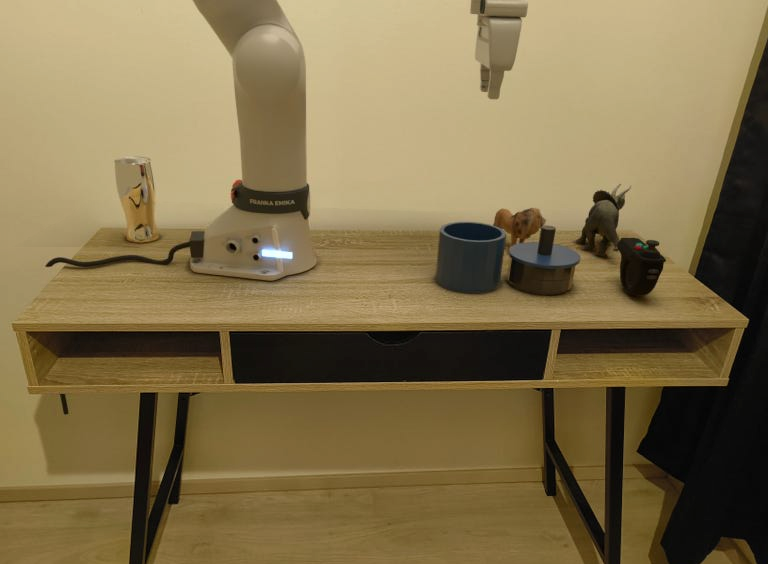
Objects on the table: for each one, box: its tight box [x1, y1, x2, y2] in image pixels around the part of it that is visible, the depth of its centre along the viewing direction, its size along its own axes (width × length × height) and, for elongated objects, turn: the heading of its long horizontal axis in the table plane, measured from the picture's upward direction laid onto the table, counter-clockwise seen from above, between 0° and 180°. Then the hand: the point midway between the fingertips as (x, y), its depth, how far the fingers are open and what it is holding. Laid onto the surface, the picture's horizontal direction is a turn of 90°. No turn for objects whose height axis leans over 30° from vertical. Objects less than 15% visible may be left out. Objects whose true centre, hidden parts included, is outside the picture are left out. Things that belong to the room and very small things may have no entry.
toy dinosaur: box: [575, 183, 632, 259], centre depth 133 cm, size 22×8×11 cm, turn 160°
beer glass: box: [113, 156, 160, 244], centre depth 130 cm, size 7×7×15 cm
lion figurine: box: [492, 207, 547, 247], centre depth 134 cm, size 15×5×9 cm, turn 34°
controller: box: [617, 237, 667, 297], centre depth 114 cm, size 4×12×10 cm, turn 2°
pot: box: [435, 221, 507, 294], centre depth 116 cm, size 11×11×9 cm
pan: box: [506, 256, 577, 296], centre depth 117 cm, size 11×11×5 cm
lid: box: [507, 224, 582, 269], centre depth 115 cm, size 12×12×6 cm
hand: (488, 95), depth 115 cm, fingers open, 8 cm apart
